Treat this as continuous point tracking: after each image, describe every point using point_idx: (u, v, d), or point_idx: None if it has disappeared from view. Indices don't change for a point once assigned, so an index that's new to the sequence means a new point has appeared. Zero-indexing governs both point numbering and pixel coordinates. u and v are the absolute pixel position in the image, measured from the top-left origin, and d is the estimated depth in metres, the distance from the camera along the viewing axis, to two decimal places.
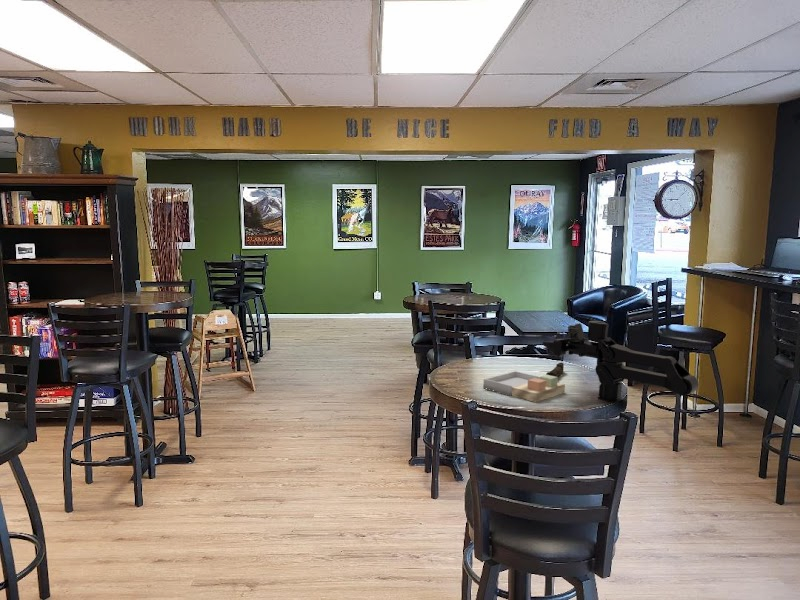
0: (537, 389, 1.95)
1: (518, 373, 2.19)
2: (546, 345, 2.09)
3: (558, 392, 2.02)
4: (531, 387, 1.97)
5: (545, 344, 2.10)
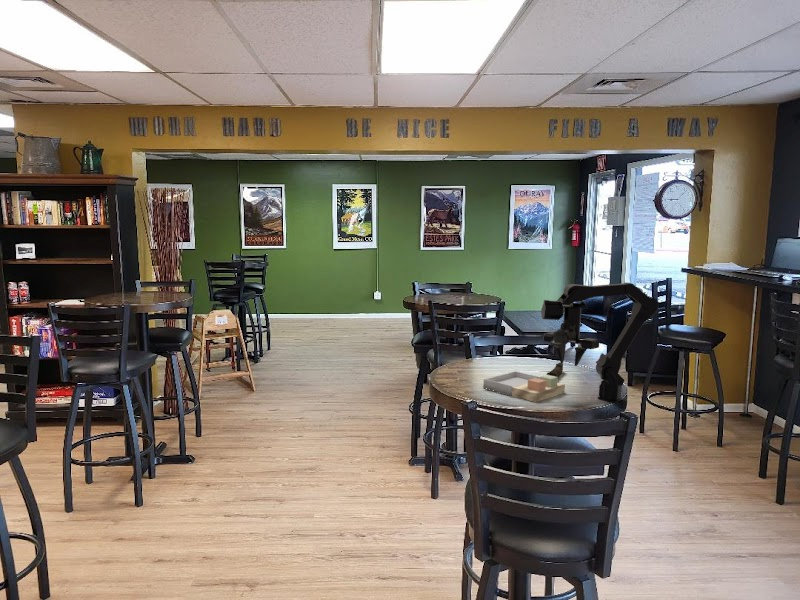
0: (537, 389, 1.95)
1: (518, 373, 2.19)
2: (579, 360, 1.95)
3: (558, 392, 2.02)
4: (531, 387, 1.97)
5: (578, 362, 1.95)
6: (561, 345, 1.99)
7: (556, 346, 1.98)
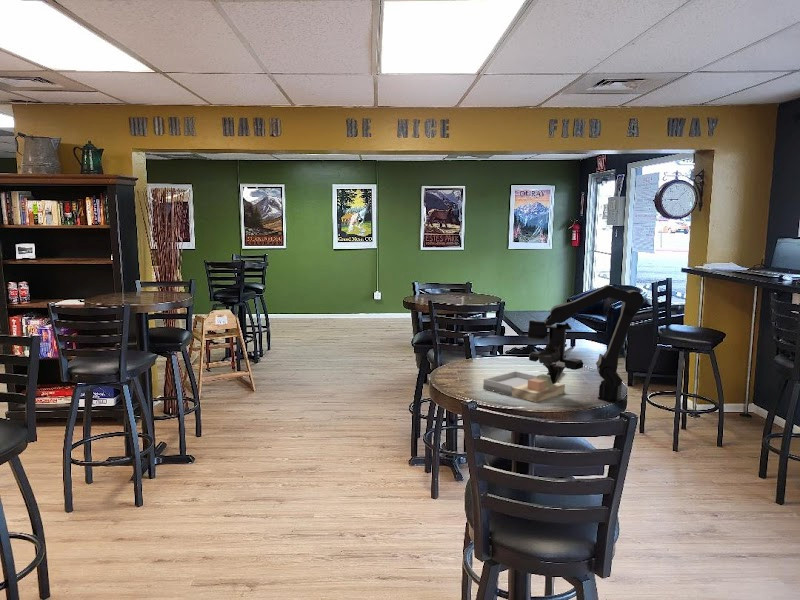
0: (537, 389, 1.95)
1: (518, 373, 2.19)
2: (557, 378, 2.01)
3: (558, 392, 2.02)
4: (531, 387, 1.97)
5: (556, 380, 2.01)
6: (553, 366, 2.01)
7: (548, 367, 2.01)
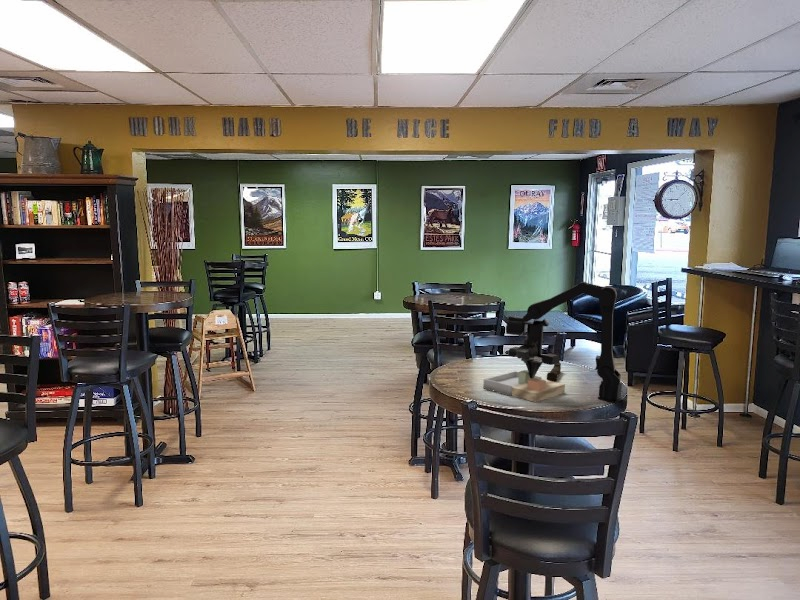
0: (537, 389, 1.95)
1: (518, 373, 2.19)
2: (535, 373, 2.08)
3: (558, 392, 2.02)
4: (531, 387, 1.97)
5: (534, 374, 2.08)
6: (530, 361, 2.08)
7: (526, 362, 2.07)
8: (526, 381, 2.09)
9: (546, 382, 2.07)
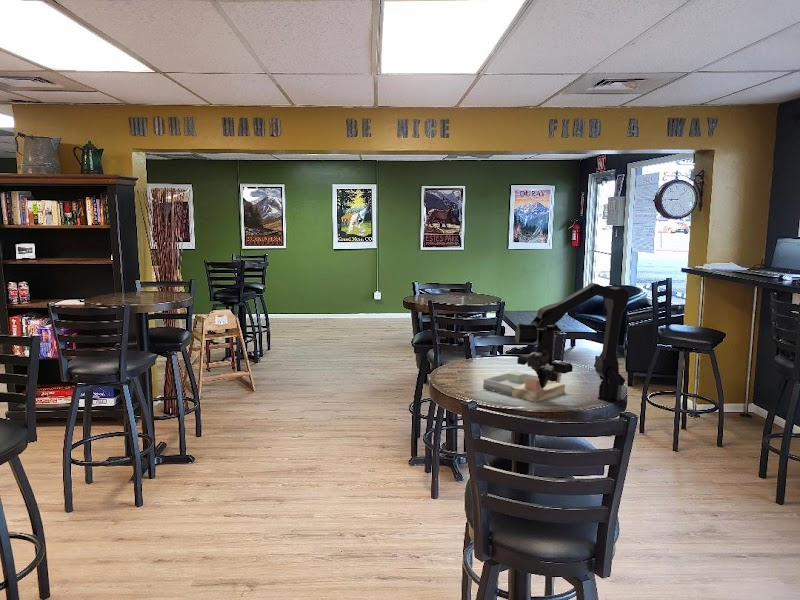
0: (535, 389, 1.96)
1: None
2: (546, 382, 1.95)
3: (558, 392, 2.02)
4: (528, 386, 1.98)
5: (545, 383, 1.95)
6: (541, 369, 1.96)
7: (536, 371, 1.95)
8: (517, 374, 2.11)
9: None
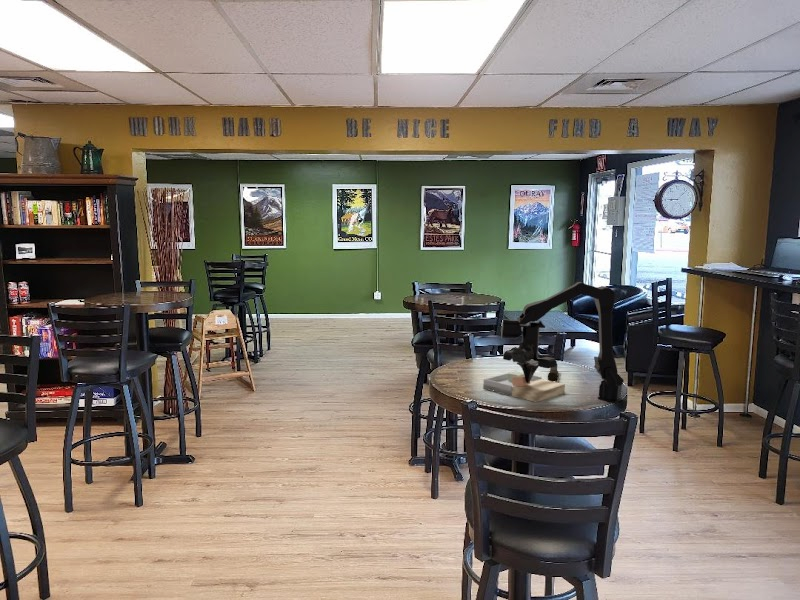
0: (522, 384, 1.99)
1: None
2: (530, 377, 2.00)
3: (558, 392, 2.02)
4: (516, 384, 2.01)
5: (530, 378, 2.00)
6: (527, 365, 2.00)
7: (522, 366, 1.99)
8: (517, 374, 2.11)
9: (546, 382, 2.07)
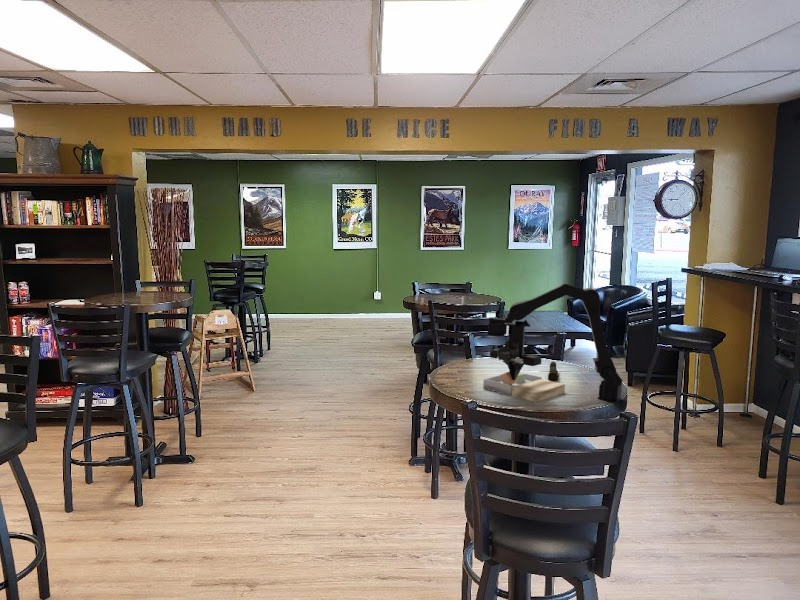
0: (505, 373, 2.04)
1: None
2: (516, 375, 2.04)
3: (558, 392, 2.02)
4: (507, 380, 2.04)
5: (516, 376, 2.04)
6: (512, 363, 2.04)
7: (507, 364, 2.03)
8: None
9: (546, 382, 2.07)
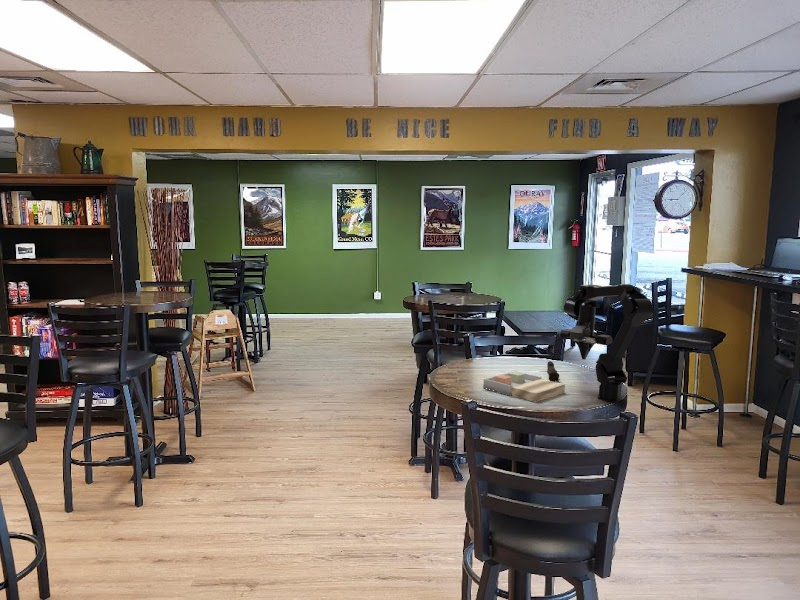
0: (495, 377, 2.07)
1: None
2: (587, 354, 2.10)
3: (558, 392, 2.02)
4: (501, 379, 2.06)
5: (586, 355, 2.10)
6: (582, 342, 2.11)
7: (578, 343, 2.10)
8: (517, 374, 2.11)
9: (546, 382, 2.07)
